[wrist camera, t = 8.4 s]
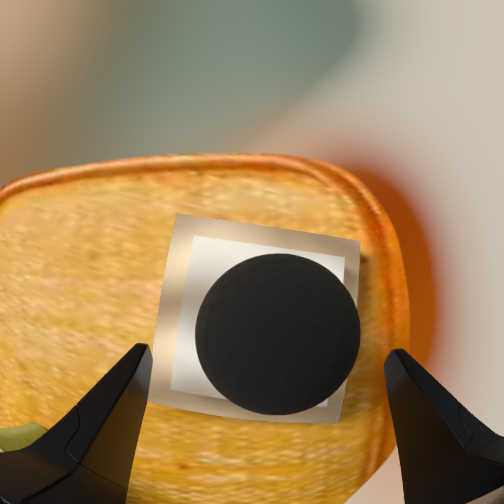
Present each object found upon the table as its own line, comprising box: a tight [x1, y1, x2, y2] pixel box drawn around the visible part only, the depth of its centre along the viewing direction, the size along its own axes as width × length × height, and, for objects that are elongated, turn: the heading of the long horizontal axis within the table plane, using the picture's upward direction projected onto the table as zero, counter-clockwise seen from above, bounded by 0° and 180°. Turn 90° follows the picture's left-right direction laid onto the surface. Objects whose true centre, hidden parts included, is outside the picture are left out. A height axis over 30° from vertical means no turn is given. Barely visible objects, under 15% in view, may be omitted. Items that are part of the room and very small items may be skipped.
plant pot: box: [0, 423, 48, 452], centre depth 12 cm, size 9×9×9 cm
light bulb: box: [195, 253, 361, 415], centre depth 12 cm, size 6×6×10 cm
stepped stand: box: [148, 214, 360, 423], centre depth 18 cm, size 14×14×4 cm
